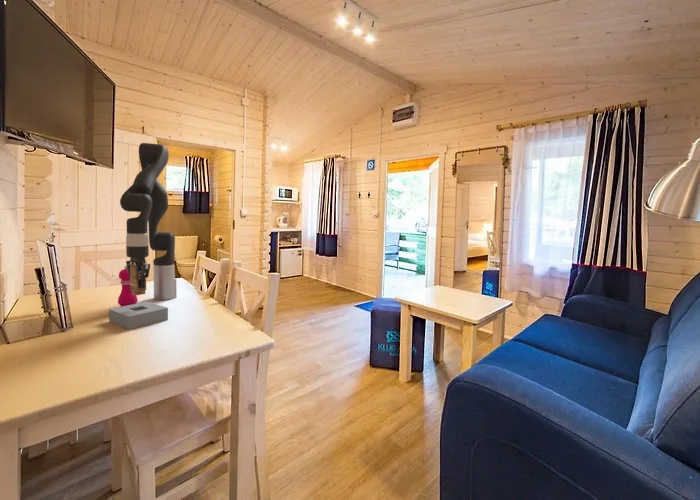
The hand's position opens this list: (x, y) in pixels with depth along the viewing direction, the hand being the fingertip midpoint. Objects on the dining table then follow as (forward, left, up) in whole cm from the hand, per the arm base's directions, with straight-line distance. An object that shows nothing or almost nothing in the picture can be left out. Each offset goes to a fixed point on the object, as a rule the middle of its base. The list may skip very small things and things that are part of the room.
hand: (138, 287), depth 137 cm
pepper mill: (-4, -17, -14) cm, 22 cm away
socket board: (0, 0, -14) cm, 14 cm away
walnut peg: (0, 0, -3) cm, 3 cm away
